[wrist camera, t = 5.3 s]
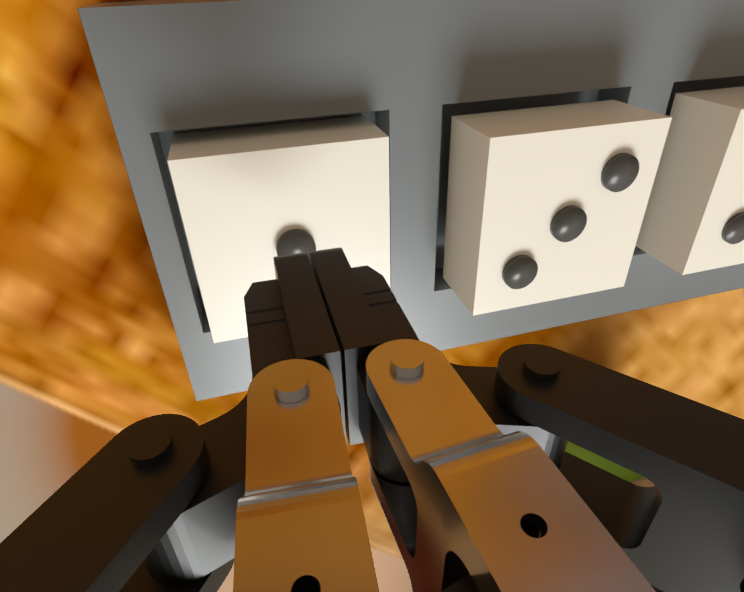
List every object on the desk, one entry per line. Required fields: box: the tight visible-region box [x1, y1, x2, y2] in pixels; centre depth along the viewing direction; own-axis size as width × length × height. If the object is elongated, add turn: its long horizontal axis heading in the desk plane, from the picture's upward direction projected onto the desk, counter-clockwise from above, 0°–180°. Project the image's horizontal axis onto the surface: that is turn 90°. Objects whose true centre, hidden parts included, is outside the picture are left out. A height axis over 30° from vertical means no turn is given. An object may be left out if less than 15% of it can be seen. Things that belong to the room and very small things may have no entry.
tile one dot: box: [167, 116, 391, 343], centre depth 15 cm, size 6×6×3 cm
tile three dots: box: [443, 100, 672, 316], centre depth 16 cm, size 6×6×3 cm
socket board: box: [78, 0, 744, 401], centre depth 18 cm, size 12×24×3 cm, turn 92°
